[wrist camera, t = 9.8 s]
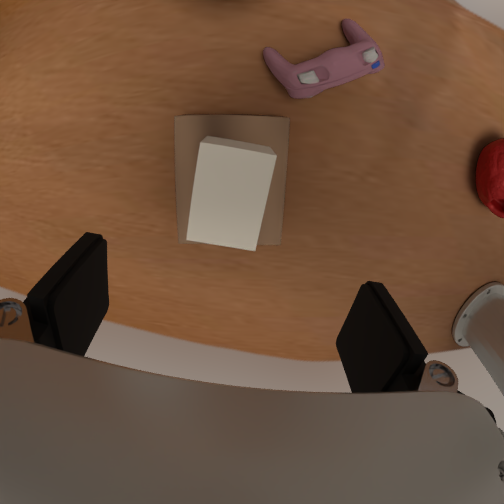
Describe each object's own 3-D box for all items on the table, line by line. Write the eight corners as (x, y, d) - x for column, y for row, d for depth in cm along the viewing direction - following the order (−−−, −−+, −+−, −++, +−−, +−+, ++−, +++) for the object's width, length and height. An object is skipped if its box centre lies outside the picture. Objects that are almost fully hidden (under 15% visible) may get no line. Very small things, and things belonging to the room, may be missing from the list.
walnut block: (281, 116, 27) (290, 118, 22) (274, 224, 32) (280, 245, 27) (185, 114, 26) (174, 116, 22) (186, 222, 31) (178, 243, 27)
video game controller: (273, 87, 26) (300, 116, 22) (255, 48, 23) (280, 68, 19) (359, 53, 25) (400, 76, 20) (347, 14, 21) (391, 29, 17)
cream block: (270, 146, 23) (276, 155, 19) (252, 227, 26) (255, 251, 22) (207, 135, 23) (200, 142, 19) (194, 217, 26) (186, 240, 22)
